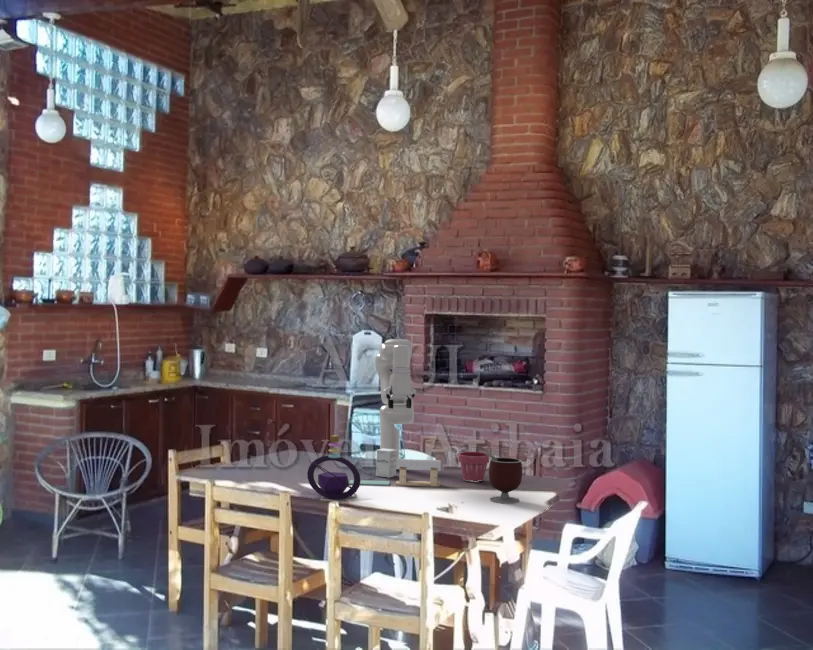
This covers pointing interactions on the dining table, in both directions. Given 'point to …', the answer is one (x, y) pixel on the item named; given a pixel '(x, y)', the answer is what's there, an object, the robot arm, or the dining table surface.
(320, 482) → the decorative bottle
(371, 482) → the mat
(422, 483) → the rack
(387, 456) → the supplement box
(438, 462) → the block
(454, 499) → the dining table surface
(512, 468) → the mate gourd
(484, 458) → the plant pot
